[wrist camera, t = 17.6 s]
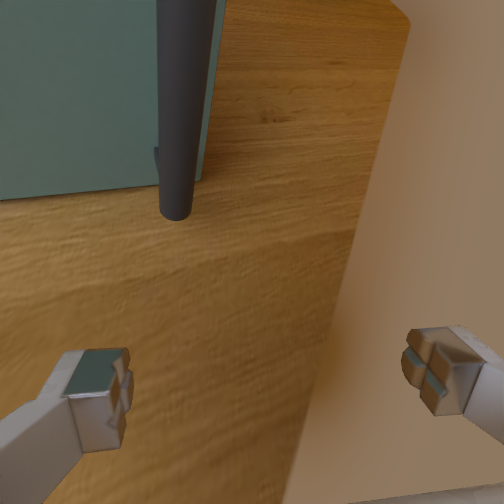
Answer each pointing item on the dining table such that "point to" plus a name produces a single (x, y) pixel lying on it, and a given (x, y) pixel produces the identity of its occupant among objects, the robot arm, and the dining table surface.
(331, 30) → the dining table surface
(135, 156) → the door
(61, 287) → the dining table surface
